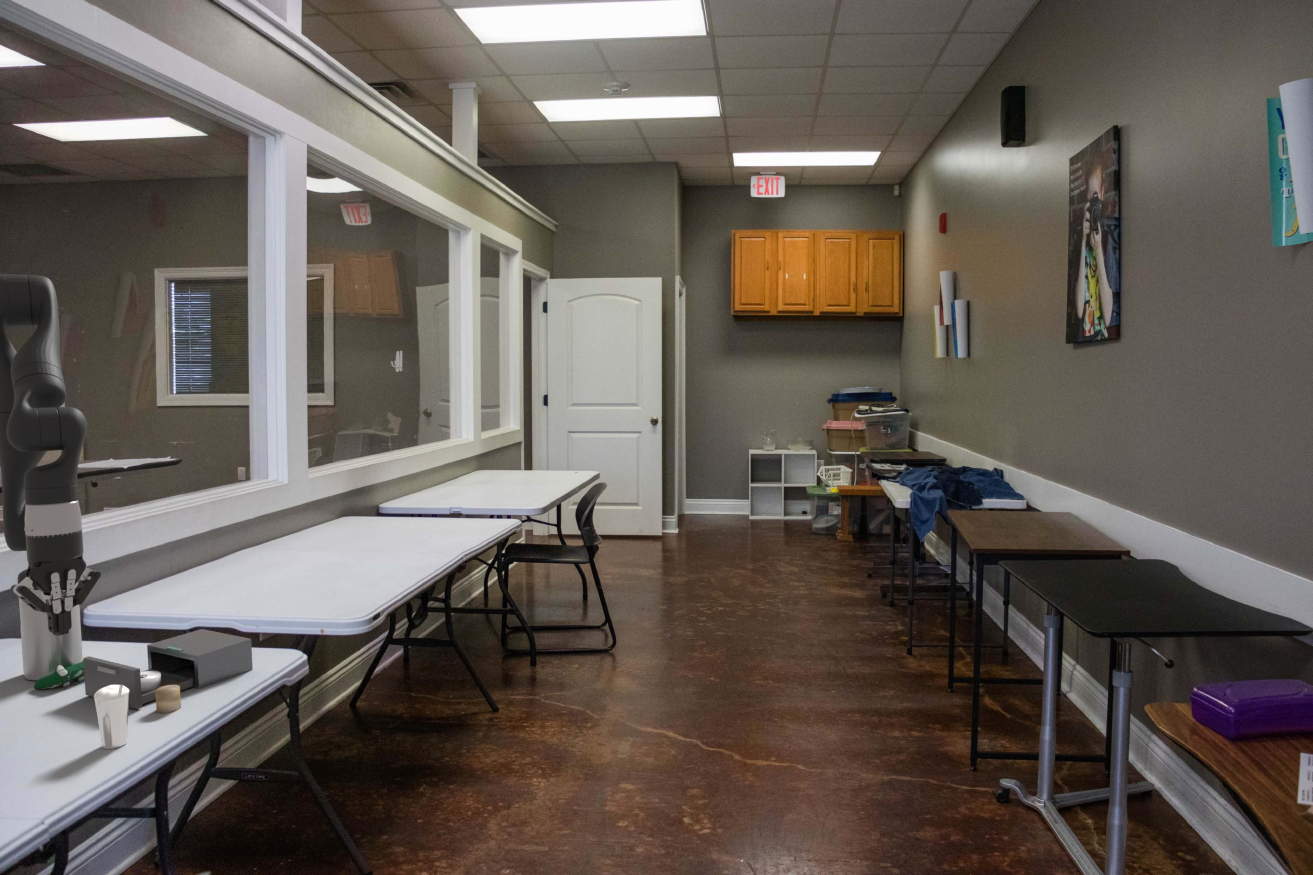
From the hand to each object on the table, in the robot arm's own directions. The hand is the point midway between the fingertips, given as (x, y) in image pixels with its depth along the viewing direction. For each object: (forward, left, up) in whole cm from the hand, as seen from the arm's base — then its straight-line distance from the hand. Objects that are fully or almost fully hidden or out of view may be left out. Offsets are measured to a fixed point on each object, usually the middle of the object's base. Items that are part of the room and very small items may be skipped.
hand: (60, 633), depth 138 cm
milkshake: (+18, -2, -15) cm, 23 cm away
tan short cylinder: (+11, +10, -14) cm, 21 cm away
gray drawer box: (0, +24, -14) cm, 28 cm away
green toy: (-18, +10, -15) cm, 25 cm away
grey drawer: (0, +12, -14) cm, 19 cm away
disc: (0, +13, -14) cm, 19 cm away
